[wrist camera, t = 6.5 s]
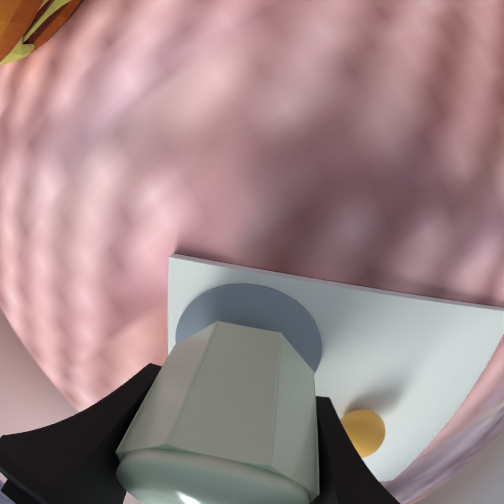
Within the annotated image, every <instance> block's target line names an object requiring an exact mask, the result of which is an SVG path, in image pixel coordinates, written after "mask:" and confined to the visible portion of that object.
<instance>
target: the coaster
mask: <svg viewBox="0 0 504 504" xmlns="http://www.w3.org/2000/svg"><path fill="white" fill-rule="evenodd" d="M216 321H221V322H226V323H231V324H236V325H241V326H247V327H252V328H258V329H263V330H269V331H275V332H281V333H282V335H283V336H284V337H285V338H286V339H287V341H288V342H289V343H290V344H291V345H292V347H293V348H294V349H295V350H296V351H297V352H298V354H299V355H300V356H301V357H302V358H303V360H304V361H305V362H306V363H307V364H308V365H309V367H310V368H311V369H312V370H314V374H315V372H316V370H317V368H318V366H319V363H320V360H321V354H322V343H321V337H320V333H319V329H318V327H317V325H316V322H315V321H314V319H313V318H312V316H311V315H310V314H309V312H308V311H307V310H306V309H305V308H304V307H303V306H302V305H301V304H300V303H298V302H297V301H296V300H294V299H293V298H291V297H290V296H288V295H286V294H284V293H282V292H280V291H278V290H275V289H273V288H270V287H266V286H262V285H256V284H248V283H236V284H228V285H223V286H219V287H216V288H213V289H211V290H208V291H206V292H204V293H203V294H201V295H199V296H198V297H197V298H195V299H194V300H193V301H192V302H191V303H190V304H189V305H188V306H187V308H186V309H185V311H184V312H183V314H182V315H181V317H180V319H179V321H178V324H177V328H176V335H175V340H176V344H178V343H180V342H182V341H184V340H185V339H187V338H189V337H191V336H192V335H194V334H196V333H197V332H199V331H201V330H203V329H204V328H206V327H208V326H210V325H211V324H213V323H215V322H216Z"/></svg>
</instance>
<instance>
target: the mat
mask: <svg viewBox="0 0 504 504" xmlns="http://www.w3.org/2000/svg"><path fill="white" fill-rule="evenodd" d="M236 283H248V284H256V285H262V286H266V287H270V288H273V289H275V290H278V291H280V292H282V293H284V294H286V295H288V296H290V297H291V298H293V299H294V300H296V301H297V302H298V303H300V304H301V305H302V306H303V307H304V308H305V309H306V310H307V311H308V312H309V314H310V315H311V316H312V318H313V319H314V321H315V322H316V325H317V327H318V329H319V333H320V337H321V343H322V354H321V360H320V363H319V366H318V368H317V370H316V372H315V374H314V381H315V395H316V396H322V397H329V398H330V399H331V401H332V403H333V406H334V408H335V410H336V412H337V414H338V417H339V419H341V418H342V417H343V416H345V415H346V414H348V413H350V412H352V411H355V410H360V409H365V410H370V411H373V412H375V413H377V414H378V415H379V416H380V417H381V418H382V420H383V421H384V424H385V428H386V435H385V439H384V441H383V443H382V445H381V446H380V448H379V449H378V450H377V451H376V452H374V453H373V454H371V455H370V456H367V457H365V458H362V460H363V461H364V463H365V464H366V465H367V467H368V468H369V470H370V471H371V472H372V474H373V475H374V476H375V477H376V479H377V480H378V481H379V482H381V481H391V480H394V479H395V478H396V477H397V476H398V475H399V474H401V473H402V472H403V471H404V470H405V469H406V468H407V467H408V466H409V465H410V464H411V463H412V462H413V461H414V460H415V459H416V458H417V456H418V455H419V454H420V453H421V452H422V451H423V450H424V449H425V448H426V447H427V446H428V444H429V443H430V442H431V441H432V440H433V439H434V438H435V436H436V435H437V434H438V433H439V432H440V431H441V429H442V428H443V427H444V426H445V424H446V423H447V422H448V421H449V419H450V418H451V417H452V415H453V414H454V413H455V411H456V410H457V409H458V407H459V406H460V405H461V403H462V402H463V401H464V399H465V398H466V396H467V395H468V393H469V392H470V390H471V389H472V387H473V386H474V384H475V383H476V381H477V380H478V378H479V377H480V375H481V373H482V372H483V370H484V368H485V367H486V365H487V363H488V362H489V360H490V358H491V356H492V355H493V353H494V351H495V349H496V347H497V346H498V344H499V342H500V340H501V338H502V336H503V334H504V308H503V307H496V306H489V305H481V304H474V303H467V302H460V301H453V300H447V299H440V298H433V297H427V296H420V295H413V294H407V293H400V292H394V291H388V290H381V289H375V288H369V287H363V286H356V285H350V284H344V283H338V282H332V281H326V280H320V279H314V278H308V277H302V276H296V275H291V274H285V273H279V272H273V271H268V270H262V269H256V268H251V267H245V266H239V265H234V264H228V263H223V262H217V261H212V260H206V259H201V258H196V257H190V256H185V255H180V254H174V253H173V254H172V255H171V256H170V257H169V270H168V356H169V354H170V352H171V351H172V349H173V347H174V345H176V340H175V335H176V328H177V324H178V321H179V319H180V317H181V315H182V314H183V312H184V311H185V309H186V308H187V306H188V305H189V304H190V303H191V302H192V301H193V300H194V299H195V298H197V297H198V296H199V295H201V294H203V293H204V292H206V291H208V290H211V289H213V288H216V287H219V286H223V285H228V284H236Z"/></svg>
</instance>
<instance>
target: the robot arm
mask: <svg viewBox="0 0 504 504" xmlns="http://www.w3.org/2000/svg"><path fill="white" fill-rule="evenodd" d="M161 368H162V366H158V365H155V364H152V363H150V364H148V365H147V366H145V367H144V368H143V369H142V370H141V371H139V372H138V373H137V374H136V375H134V376H133V377H132V378H131V379H129V380H128V381H127V382H126V383H124V384H123V385H122V386H120V387H119V388H118V389H116V390H115V391H113V392H112V393H111V394H109V395H108V396H106V397H105V398H103V399H102V400H100V401H99V402H97V403H95V404H94V405H92V406H90V407H89V408H87V409H85V410H83V411H81V412H79V413H78V414H76V415H74V416H71V417H69V418H67V419H65V420H62V421H60V422H57V423H55V424H52V425H49V426H46V427H42V428H39V429H35V430H32V431H27V432H22V433H16V434H10V435H3V436H1V438H0V472H1V473H2V474H3V475H4V476H5V477H6V478H7V479H8V480H7V481H6V482H5V484H4V483H3V482H2V481H1V480H0V504H123V501H124V498H125V495H126V492H127V491H126V490H125V489H124V488H123V487H122V486H121V484H120V483H119V481H118V480H117V477H116V470H117V468H118V466H119V464H120V460H119V458H118V456H117V454H116V453H115V452H116V450H117V448H118V446H119V445H120V443H121V441H122V439H123V437H124V435H125V433H126V432H127V430H128V428H129V426H130V424H131V422H132V421H133V419H134V417H135V415H136V413H137V411H138V410H139V408H140V406H141V404H142V402H143V401H144V399H145V397H146V395H147V393H148V392H149V390H150V388H151V386H152V384H153V383H154V381H155V379H156V377H157V375H158V374H159V372H160V370H161ZM316 413H317V430H318V454H319V495H318V496H317V497H316V498H315V499H314V500H313V501H312V502H311V504H400V503H399V502H398V501H397V500H396V499H395V498H394V497H393V496H392V495H391V494H390V493H389V492H388V491H387V490H386V489H385V488H384V487H383V486H382V484H381V483H380V482H379V481H378V480H377V479H376V477H375V476H374V475H373V474H372V472H371V471H370V470H369V468H368V467H367V465H366V464H365V463H364V461H363V460H362V458H361V456H360V455H359V453H358V452H357V450H356V448H355V447H354V445H353V443H352V442H351V440H350V438H349V436H348V434H347V433H346V431H345V429H344V427H343V425H342V423H341V421H340V419H339V417H338V414H337V412H336V410H335V408H334V406H333V403H332V401H331V399H330V398H329V397H322V396H316Z"/></svg>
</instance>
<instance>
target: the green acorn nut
mask: <svg viewBox="0 0 504 504" xmlns="http://www.w3.org/2000/svg"><path fill="white" fill-rule="evenodd" d="M115 453H116V454H117V456H118V458H119V460H120V464H119V466H118V468H117V470H116V477H117V480H118V481H119V483H120V484H121V486H122V487H123V488H124V489H125V490H126V491H128V492H129V493H130V494H131V495H132V496H134V497H135V498H136V499H138V500H139V501H141V502H142V503H144V504H311V502H312V501H313V500H314V499H315V498H316V497H317V496H318V495H319V454H318V430H317V413H316V395H315V381H314V370H312V369H311V368H310V367H309V365H308V364H307V363H306V362H305V361H304V360H303V358H302V357H301V356H300V355H299V354H298V352H297V351H296V350H295V349H294V348H293V347H292V345H291V344H290V343H289V342H288V341H287V339H286V338H285V337H284V336H283V335H282V333H281V332H275V331H269V330H263V329H258V328H252V327H247V326H241V325H236V324H231V323H226V322H221V321H216V322H215V323H213V324H211V325H210V326H208V327H206V328H204V329H203V330H201V331H199V332H197V333H196V334H194V335H192V336H191V337H189V338H187V339H185V340H184V341H182V342H180V343H178V344H176V345H174V347H173V349H172V351H171V352H170V354H169V356H168V358H167V359H166V361H165V363H164V365H163V366H162V368H161V370H160V372H159V374H158V375H157V377H156V379H155V381H154V383H153V384H152V386H151V388H150V390H149V392H148V393H147V395H146V397H145V399H144V401H143V402H142V404H141V406H140V408H139V410H138V411H137V413H136V415H135V417H134V419H133V421H132V422H131V424H130V426H129V428H128V430H127V432H126V433H125V435H124V437H123V439H122V441H121V443H120V445H119V446H118V448H117V450H116V452H115Z"/></svg>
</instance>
